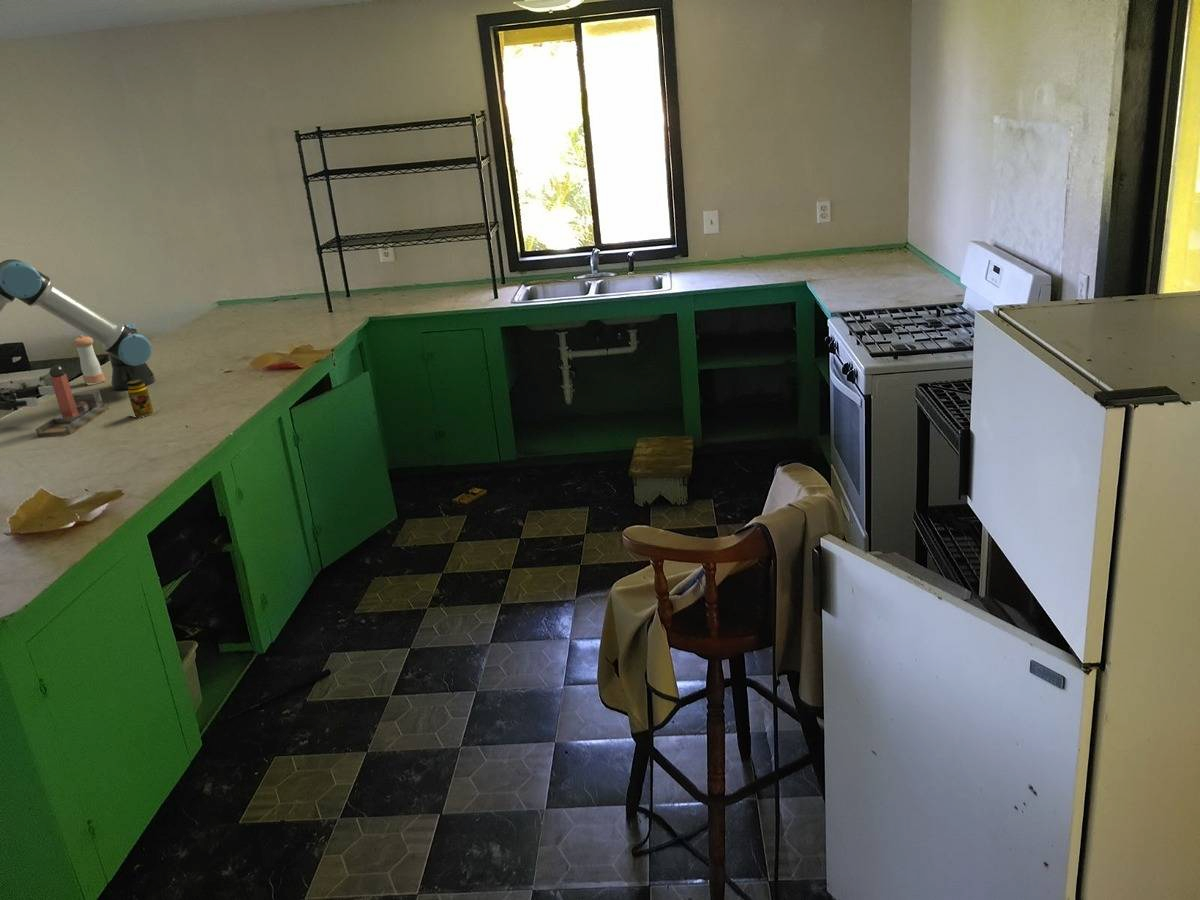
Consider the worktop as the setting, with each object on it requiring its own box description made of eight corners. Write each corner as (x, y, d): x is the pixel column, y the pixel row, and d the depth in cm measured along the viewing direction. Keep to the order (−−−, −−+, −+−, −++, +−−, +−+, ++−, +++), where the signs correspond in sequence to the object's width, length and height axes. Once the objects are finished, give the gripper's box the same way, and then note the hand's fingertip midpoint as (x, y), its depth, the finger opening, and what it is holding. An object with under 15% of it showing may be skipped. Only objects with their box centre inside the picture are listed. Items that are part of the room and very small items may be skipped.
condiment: (141, 418, 318) (132, 384, 313) (126, 416, 322) (116, 383, 318) (160, 411, 324) (151, 378, 319) (144, 409, 328) (135, 376, 323)
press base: (78, 411, 333) (72, 392, 330) (108, 409, 333) (103, 389, 330) (37, 437, 309) (31, 416, 306) (70, 434, 308) (64, 413, 306)
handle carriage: (70, 414, 325) (53, 361, 318) (91, 412, 325) (75, 359, 318) (56, 423, 316) (38, 369, 310) (78, 421, 316) (61, 367, 309)
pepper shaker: (99, 384, 367) (85, 337, 360) (81, 386, 367) (67, 338, 361) (108, 379, 374) (95, 332, 367) (91, 380, 374) (77, 333, 367)
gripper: (10, 400, 329) (70, 394, 329) (-34, 423, 306) (30, 417, 305) (3, 379, 326) (63, 374, 326) (-41, 401, 303) (23, 395, 303)
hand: (48, 395), depth 316 cm, fingers open, 13 cm apart
